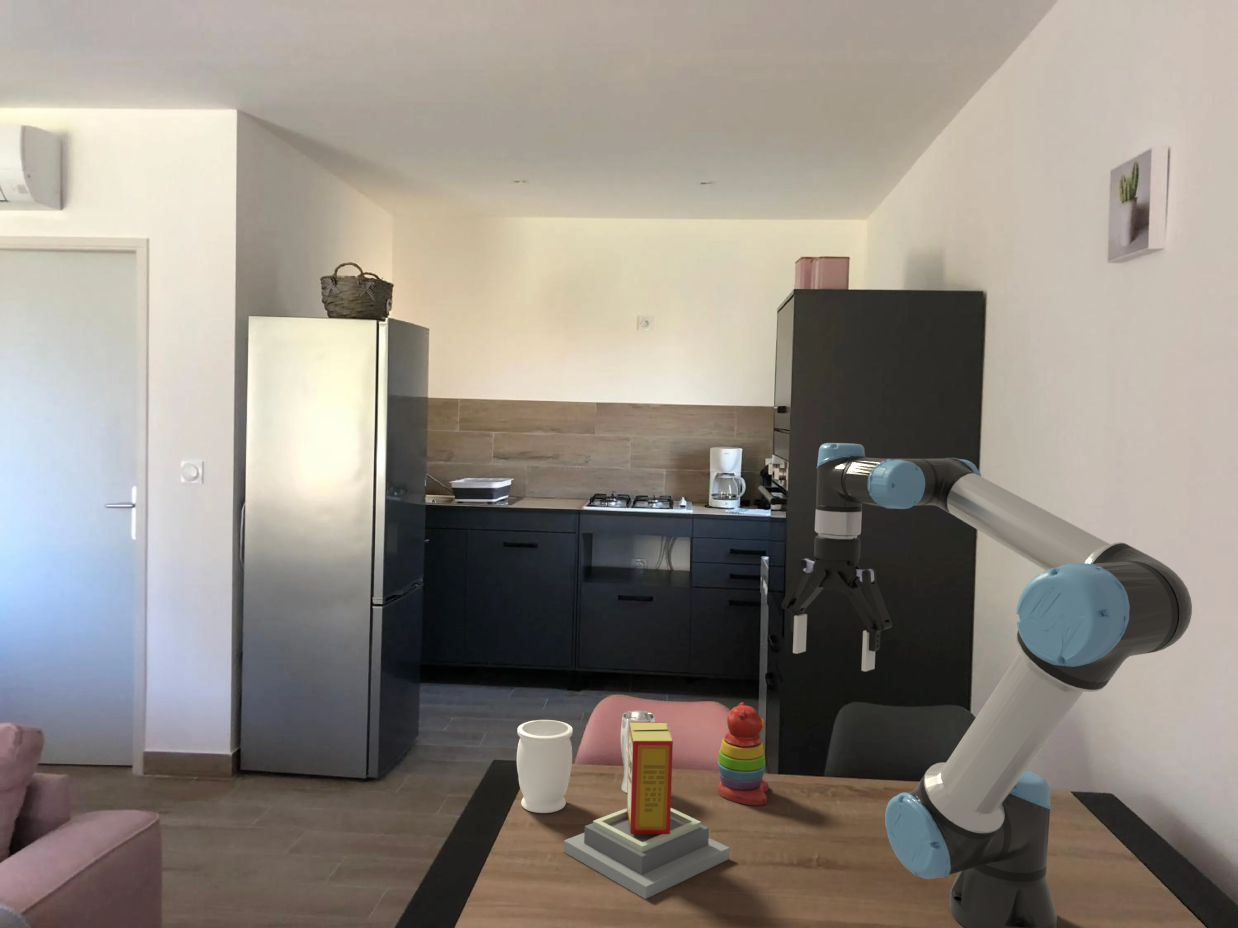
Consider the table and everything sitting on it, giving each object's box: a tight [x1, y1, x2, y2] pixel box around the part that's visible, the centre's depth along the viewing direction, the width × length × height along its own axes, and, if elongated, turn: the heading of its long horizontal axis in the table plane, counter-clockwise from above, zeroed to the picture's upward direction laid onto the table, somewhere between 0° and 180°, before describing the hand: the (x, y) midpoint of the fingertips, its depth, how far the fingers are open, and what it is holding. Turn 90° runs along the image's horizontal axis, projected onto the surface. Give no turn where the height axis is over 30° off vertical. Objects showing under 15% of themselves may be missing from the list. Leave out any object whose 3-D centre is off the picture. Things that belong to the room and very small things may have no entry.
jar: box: [516, 719, 573, 814], centre depth 176 cm, size 11×10×15 cm
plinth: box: [563, 807, 730, 900], centre depth 157 cm, size 20×20×6 cm
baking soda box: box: [626, 721, 674, 834], centre depth 156 cm, size 10×6×16 cm
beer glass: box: [620, 710, 656, 794], centre depth 184 cm, size 7×7×15 cm
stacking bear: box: [717, 701, 769, 807], centre depth 184 cm, size 11×10×18 cm
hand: (832, 660), depth 155 cm, fingers open, 13 cm apart
